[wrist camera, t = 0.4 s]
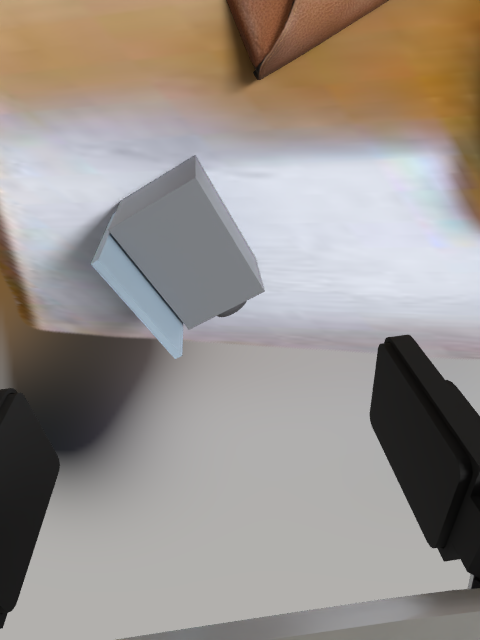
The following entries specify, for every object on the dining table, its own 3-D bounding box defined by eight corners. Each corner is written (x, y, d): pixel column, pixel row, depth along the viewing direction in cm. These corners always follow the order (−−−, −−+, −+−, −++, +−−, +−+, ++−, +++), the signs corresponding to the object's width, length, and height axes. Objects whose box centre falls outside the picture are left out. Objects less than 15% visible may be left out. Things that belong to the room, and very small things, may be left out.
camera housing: (120, 200, 41) (108, 229, 35) (195, 155, 39) (195, 177, 33) (196, 302, 49) (197, 339, 43) (261, 268, 47) (271, 302, 41)
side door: (113, 213, 41) (90, 264, 32) (119, 209, 41) (98, 259, 32) (178, 297, 48) (175, 359, 39) (184, 294, 47) (182, 355, 38)
